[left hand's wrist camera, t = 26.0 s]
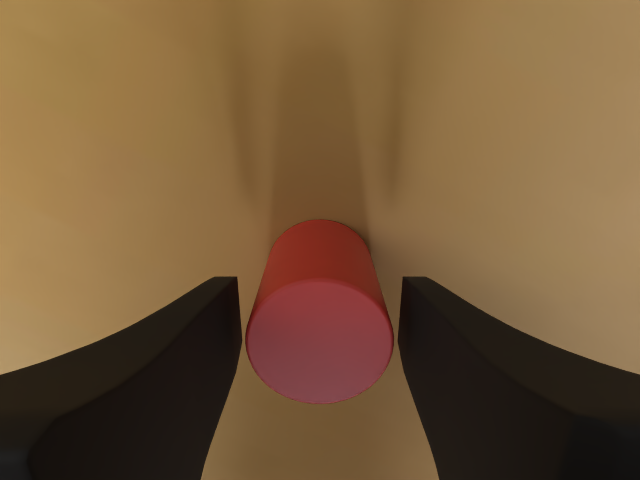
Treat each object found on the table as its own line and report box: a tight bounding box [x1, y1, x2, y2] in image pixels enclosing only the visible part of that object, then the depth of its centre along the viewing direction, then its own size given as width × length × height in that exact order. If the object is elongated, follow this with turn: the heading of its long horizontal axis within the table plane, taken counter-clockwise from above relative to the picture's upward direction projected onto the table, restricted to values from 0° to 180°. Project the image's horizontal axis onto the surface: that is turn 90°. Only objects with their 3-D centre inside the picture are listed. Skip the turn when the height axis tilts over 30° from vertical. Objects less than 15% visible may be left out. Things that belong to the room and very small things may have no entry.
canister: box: [245, 220, 394, 404], centre depth 11 cm, size 4×4×4 cm
